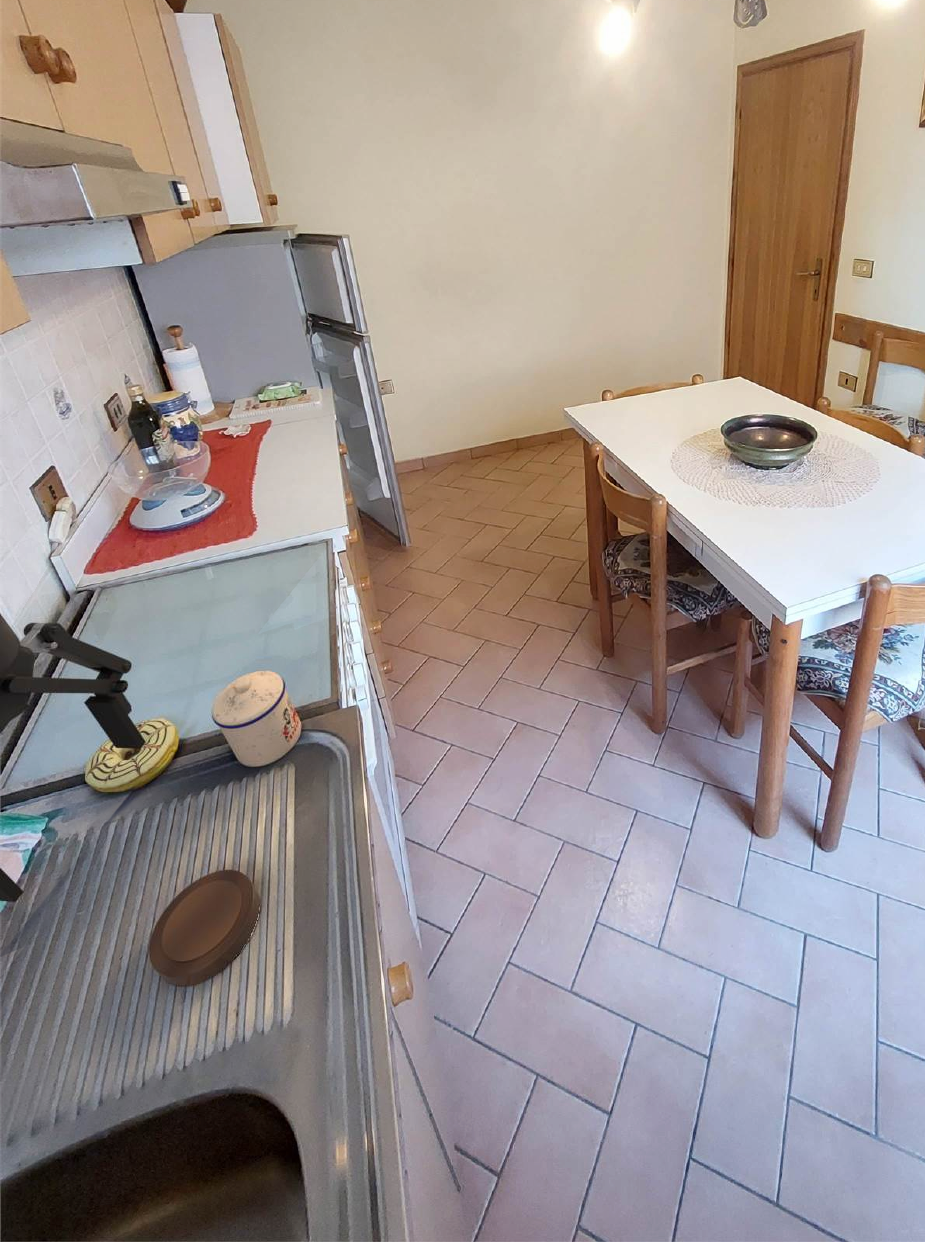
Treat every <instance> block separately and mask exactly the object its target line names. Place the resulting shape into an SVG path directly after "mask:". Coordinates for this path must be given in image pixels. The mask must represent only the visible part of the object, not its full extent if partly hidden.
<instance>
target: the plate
mask: <svg viewBox="0 0 925 1242" xmlns="http://www.w3.org/2000/svg"><path fill="white" fill-rule="evenodd" d="M257 892H258V890H257V889H256V887H255V885H254V883H253V882H252V881H251V879H250V878H249V876H247V874H245V873H243V872H241V871H239V870H236V869H221V870H217V871H213V872H211V873H210V872H209V873H207V874H206V875H204V876H202V877H199V878H198V879H196V880H195V881H193V882H191V883H190V884H189V885H187V886H186V887H185V888H184V889H182V890H181V891H180V892H179V893H178V894H177V895H176V896H175V897H174V898H173V899H172V900H171V901H170V903H169V904H168V905H167V906H166V908H165V909H164V911H162V913H161V915H160V916H159V918H158V920H157V921H156V924H155V926H154V928H153V931H152V933H151V935H150V940H149V947H148V955H149V961H150V963H151V966H152V967H153V968H154V970H155V971H156V972H157V973H158V975H159V976H160V977H161V978H162V979H163V980H164V981H166V983H167V984H169V985H172V986H174V987H183V988H185V987H192V986H196V985H199V984H202V983H204V982H207V981H209V980H210V979H213V978H214V977H215V976H217V975H218V974H220V973H222V972H223V971H224V970H225V969H226V968H228V967H229V966H230V965H231V964H232V963H233V962H234V961H235V960H234V958H235V957H236V955H238V954H239V953H240V951H241V950H242V949H243V947H244V945H245V944H246V943H247V941H248V939H249V938H250V936H251V933H252V932H253V929H254V927H255V924H256V921H257V918H258V914H259V907H260V903H261V901H260V902H259V897H260V894H259V892H258V893H257ZM258 894H259V895H258ZM243 950H244V949H243ZM240 954H241V953H240ZM240 954H239V955H240ZM233 960H234V961H233ZM232 961H233V962H232ZM231 962H232V963H231ZM230 963H231V964H230ZM229 964H230V965H229ZM228 965H229V966H228Z"/></svg>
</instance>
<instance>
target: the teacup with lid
mask: <svg viewBox="0 0 925 1242" xmlns="http://www.w3.org/2000/svg"><path fill="white" fill-rule="evenodd" d="M211 718H212V721H213V723H214V724H215V725H216V726H218V727H219V729H220V730H221V732H222V734H223V736H224V738H225V740H226V741H227V743H228V745H229V747H230V749H231V750H232V752H233V755H234V756H235V757H236V760H237V761H238V762H239V763H240V764H241V765H244V766H246V767H250V768H257V767H258V768H259V767H263V766H267V765H269V764H270V765H271V764H272V763H274V762H276V761H278V760H279V759H281V758H283V757H284V756H286V755H287V754H288V752H290V751H291V750H292V749H293V748H294V746H295V745H296V743H297V742H298V740H299V738H300V736H301V734H302V733H301V732H302V723H301V719H300V717H299V715H298V713H297V711H296V709H295V706H294V704H293V702H292V700H291V698H290V696H289V694H288V692H287V689H286V683H285V680H284V679H283V677H282V676H280V675H279V674H278V673H276V672H273V671H271V670H257V671H252V672H250V673H247V674H244V675H242V676H240V677H238V678H236V679H234V680H232V681H231V682H230V683H229V684H227V685H226V686H225V687H224V688H223V689H222V690H221V691H220V692H219V693H218V695H217V696H216V698H215V699H214V701H213V704H212V708H211Z"/></svg>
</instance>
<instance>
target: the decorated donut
mask: <svg viewBox="0 0 925 1242" xmlns="http://www.w3.org/2000/svg"><path fill="white" fill-rule="evenodd" d="M134 725H135V726H136V728H137V729H138V731H139V732H140V734H141V735H142V737H143V738H144V740H145V741H146V743H145V744H144V745H143V746H142V748H141V749H131V748H116V747H115V746H114V744H113V743H112V742H111V740H110V739H109V738H108V740H106V741H105V742H103V744H102V745H100V746H99V747H98V749H97V750H95V752H94V753H93V754H92V755H91V756H90V758H89V759H88V761H87V762H86V765H85V769H84V770H85V771H84V772H85V773H84V780H85V782H86V783H87V784H88V785H89V786H90V787H91V788H93V789H94V790H96V791H97V792H102V793H119V792H120V793H121V792H125V791H127V790H131V789H132V791H134V790H136V789H139V788H142V787H143V786H145V785H147V784H148V783H150V782H151V781H153V780H154V779H155V778H157V777H158V776H160V775H161V774H162V773H163V771H164V770H165V769H166V768H167V767H168V766H169V765H170V764H171V762H172V761H173V759H174V757H175V754H176V753H177V751H178V747H179V742H180V741H179V740H180V739H179V738H180V737H179V735H178V729H177V727H176V725H174V724H173V723H172V722H170V721H168V720H167V719H165V718H164V717H158V718H149V719H146V720H143V721H141V722H138V723H134ZM138 751H139V752H138ZM136 752H138V753H137V754H135V753H136ZM133 754H135V755H134V756H132V757H130V756H131V755H133ZM129 757H130V758H129ZM128 758H129V759H128ZM169 763H170V764H169Z"/></svg>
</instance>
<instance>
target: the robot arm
mask: <svg viewBox="0 0 925 1242" xmlns="http://www.w3.org/2000/svg"><path fill="white" fill-rule="evenodd" d="M23 635H24V637H22V638H21V640H20V638H19V637H18V635H17V634H16V633H15V631H14V630H13V629H12V627H11V625H10V624H9V623H8V622H7V621H6V619H5V618H4V616H3V615H2V613H0V734H2V733H3V732H4V731H5V729H6V728H7V726H8V725H9V723H10V722H11V721H13V720H15V719H16V718H18V717H19V716H21V715H22V714H23V713H24V712H25V711H26V710H27V709H28V708H29V707H30V705H29V702H30V700H31V697H32V694H93V695H90V696H88V698H87V699H86V700H85V701H84V702H83V704H84V705H85V706H86V708H87V709H88V710H89V712H90V713H91V715H92V716H93V718H94V719H95V721H96V722H97V724H98V725H99V726H100V727H101V729H102V730H103V732H104V733H105V735H106V736H107V738H108V740H109V739H110V740H111V742H112V743H113V744H114V746H115V747H116V748H131V749H141V748H142V746H143V745H144V744H145V743H146V741H145V740H144V738H143V737H142V735H141V734H140V732H139V731H138V729H137V728H136V726H135V723H134V722H133V720H132V719H131V717H130V716H129V714H130V713H132V711H133V710H132V709H133V708H132V705H131V703H130V701H129V700H128V698H127V696H126V695H125V694H124V693H126V691H127V690H128V688H129V683H128V681H127V680H125V679H122V678H123V676H124V674H128V673H129V672H131V669H132V665H133V664H132V661H130V660H128V659H127V658H123V657H121V656H119V655H116V654H114V653H112V652H110V651H106V650H105V649H102V648H99V647H97V646H96V645H92V644H90V643H88V642H85V641H83V640H80V639H77V638H75V637H72V635H71V634H70V633H69V632H68V630H67V629H66V628H65V627H63V625H62V624H61V623H60V622H29V623H27V624H26V625H25V626H24V628H23ZM34 653H38V654H39V653H43V654H45V653H46V654H49V655H51V656H54V657H57V658H60V659H61V660H64V661H68V662H71V663H73V664H75V665H78V666H81V667H83V668H87V669H89V670H92V671H94V672H96V673H97V676H96V678H71V677H69V678H65V677H42V676H41V677H40V676H39V677H38V676H34V668H35V654H34ZM24 892H25V890H23V889H22V888H21V887H20V886H19V885H18V884H17V883H16V882H15V881H14V880H13V879H12V878H11V877H10V876H9V875H8V874H7V873H6V871H4V869H2V868H1V867H0V902H7V903H8V902H9V903H16V902H17V901H18V900H19V898H20V897H22V895H23V894H24Z"/></svg>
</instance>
